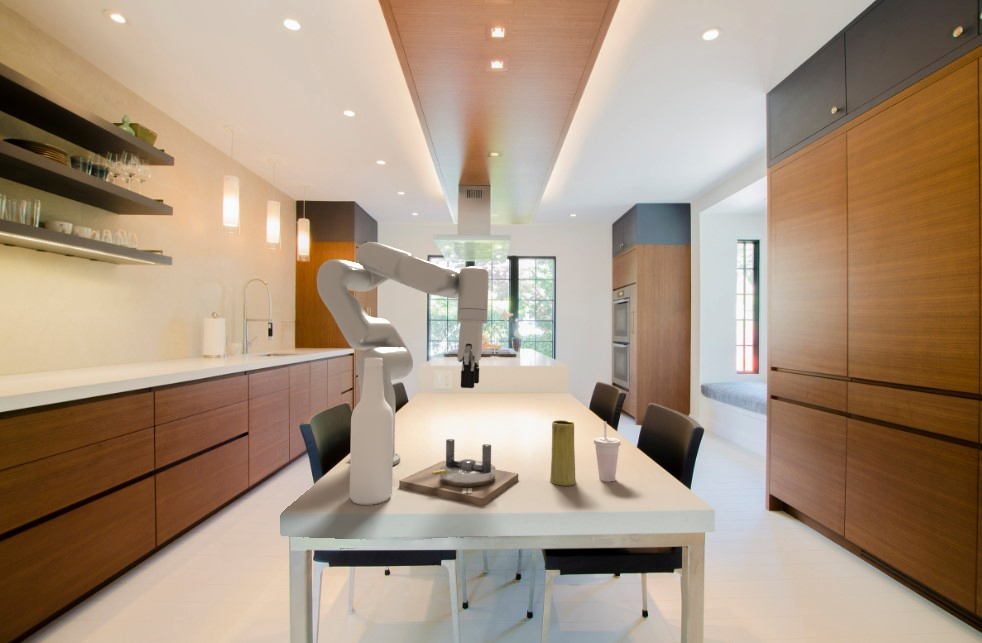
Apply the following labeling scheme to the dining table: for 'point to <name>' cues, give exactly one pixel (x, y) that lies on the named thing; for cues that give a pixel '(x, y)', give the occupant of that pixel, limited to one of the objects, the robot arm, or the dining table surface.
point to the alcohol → (371, 440)
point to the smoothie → (607, 456)
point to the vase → (563, 453)
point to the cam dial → (466, 468)
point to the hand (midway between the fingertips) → (470, 385)
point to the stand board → (475, 495)
